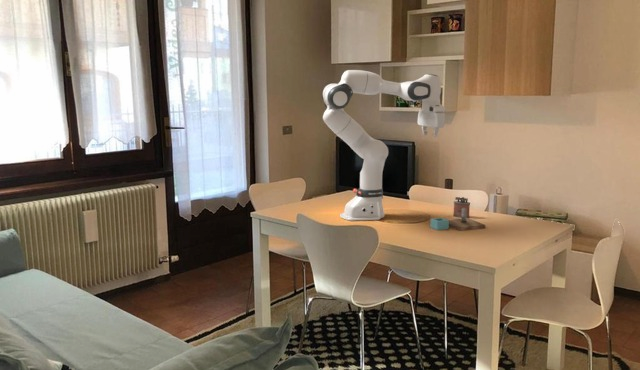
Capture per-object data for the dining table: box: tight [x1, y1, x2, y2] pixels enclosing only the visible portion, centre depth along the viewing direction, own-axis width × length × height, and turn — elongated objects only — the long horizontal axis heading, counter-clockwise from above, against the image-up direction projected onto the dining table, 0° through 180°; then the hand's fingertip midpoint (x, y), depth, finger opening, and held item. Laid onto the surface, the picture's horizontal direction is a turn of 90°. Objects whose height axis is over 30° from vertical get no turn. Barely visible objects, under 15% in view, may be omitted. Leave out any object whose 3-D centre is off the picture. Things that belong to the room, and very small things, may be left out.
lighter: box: [452, 196, 471, 219], centre depth 281 cm, size 8×3×10 cm, turn 65°
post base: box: [448, 208, 486, 231], centre depth 263 cm, size 14×14×8 cm
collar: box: [429, 217, 450, 231], centre depth 259 cm, size 6×6×4 cm
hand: (429, 135), depth 279 cm, fingers open, 8 cm apart
